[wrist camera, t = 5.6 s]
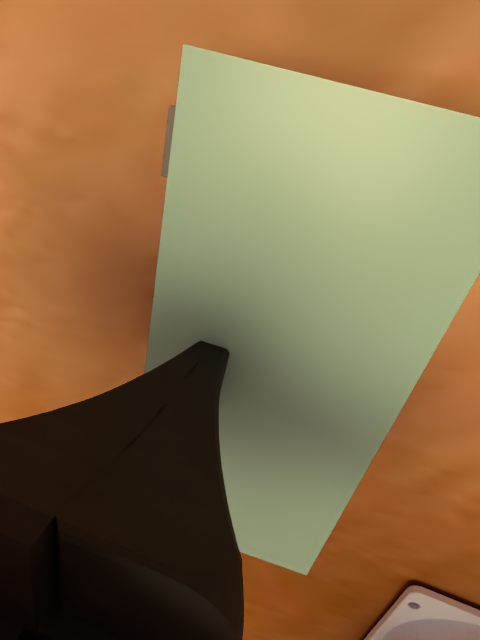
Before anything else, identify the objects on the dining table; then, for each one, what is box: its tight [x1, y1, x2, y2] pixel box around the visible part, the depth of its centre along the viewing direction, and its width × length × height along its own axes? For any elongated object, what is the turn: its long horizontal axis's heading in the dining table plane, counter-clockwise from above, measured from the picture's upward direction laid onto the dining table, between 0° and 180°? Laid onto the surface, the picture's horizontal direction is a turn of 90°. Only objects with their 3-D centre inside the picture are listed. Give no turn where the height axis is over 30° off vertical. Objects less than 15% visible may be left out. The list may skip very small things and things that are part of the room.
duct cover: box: [144, 44, 480, 575], centre depth 11 cm, size 15×7×1 cm, turn 167°
